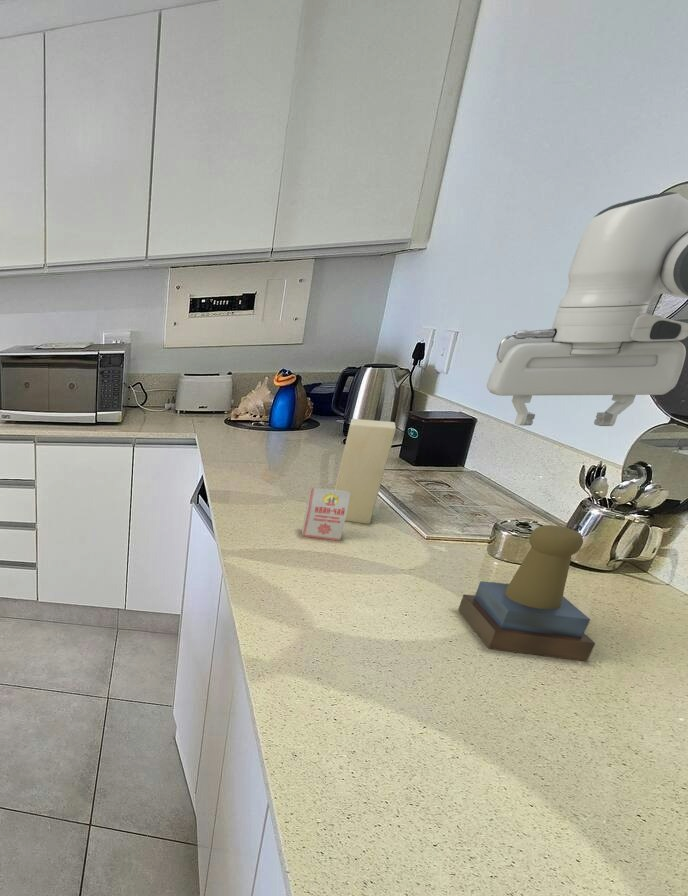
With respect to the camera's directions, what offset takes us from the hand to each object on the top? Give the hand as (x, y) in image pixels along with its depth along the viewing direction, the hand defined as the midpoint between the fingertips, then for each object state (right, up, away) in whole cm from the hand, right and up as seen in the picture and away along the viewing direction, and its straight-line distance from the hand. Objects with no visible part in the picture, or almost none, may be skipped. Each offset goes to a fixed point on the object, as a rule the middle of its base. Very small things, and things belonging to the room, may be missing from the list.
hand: (562, 425), depth 87 cm
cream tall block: (-4, -12, +42) cm, 44 cm away
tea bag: (-16, -16, +33) cm, 41 cm away
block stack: (-8, -31, -1) cm, 32 cm away
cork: (-8, -26, -4) cm, 28 cm away
